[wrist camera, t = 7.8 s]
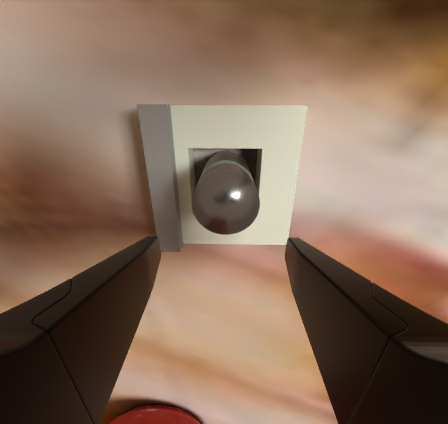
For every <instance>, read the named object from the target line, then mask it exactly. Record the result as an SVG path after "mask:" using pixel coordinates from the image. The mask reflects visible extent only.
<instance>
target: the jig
mask: <svg viewBox="0 0 448 424" xmlns="http://www.w3.org/2000/svg"><path fill="white" fill-rule="evenodd" d="M307 108H308V105H137V109H138V116H139V122H140V129H141V136H142V143H143V149H144V156H145V163H146V169H147V176H148V183H149V189H150V196H151V203H152V209H153V216H154V223H155V229H156V236H157V237H158V238H159V242H160V249H161V251H173V252H180V251H181V248H182V245H183V244H268V245H286V244H287V239H288V236H289V229H290V222H291V216H292V209H293V202H294V195H295V189H296V182H297V175H298V168H299V162H300V155H301V148H302V141H303V135H304V128H305V121H306V114H307ZM193 148H252V149H258V152H257V168H256V183H255V186H256V189H257V191H258V194H259V198H260V208H259V212H258V215H257V217H256V219H255V220H254V222H253V223H252V224H251V225H250V226H249V227H248V228H246V229H245V230H243V231H241V232H239V233H235V234H230V235H222V234H217V233H213V232H211V231H209V230H207V229H206V228H204V227H203V226H202V225H201V224H200V223H199V222H198V221H197V219H196V218H195V216H194V213H193V210H192V196H193V193H194V191H195V172H194V154H193Z"/></svg>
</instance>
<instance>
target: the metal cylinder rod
mask: <svg viewBox="0 0 448 424" xmlns="http://www.w3.org/2000/svg"><path fill="white" fill-rule="evenodd" d="M259 208H260V198H259V194H258V191H257V189H256V186H255V183H254V181H253V178H252V175H251V173H250V170H249V167H248V165H247V163H246V161H245V160H244V158H243V157H242V156H240V155H239V154H237V153H235V152H232V151H220V152H217V153H215V154H214V155H212V156H211V157H210V158H209V159H208V161H207V162H206V164H205V167H204V169H203V171H202V174H201V176H200V179H199V181H198V183H197V186H196V188H195V191H194V193H193V196H192V210H193V213H194V216H195V218H196V219H197V221H198V222H199V223H200V224H201V225H202V226H203V227H204V228H206V229H207V230H209V231H211V232H213V233H217V234H222V235H230V234H235V233H239V232H241V231H243V230H245V229H246V228H248V227H249V226H250V225H251V224H252V223H253V222H254V220H255V219H256V217H257V215H258V212H259Z"/></svg>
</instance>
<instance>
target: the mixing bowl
mask: <svg viewBox="0 0 448 424" xmlns="http://www.w3.org/2000/svg"><path fill="white" fill-rule="evenodd" d="M109 424H200V423H199V422H198V420H197V419H196V418H195V417H194V416H193V415H191V414H190V413H188V412H186V411H184V410H182V409H178V408H175V407H170V406H163V405H148V406H141V407H137V408H134V409H132V410H130V411H128V412H127V413H125V414H123V415H121V416H119V417H117V418H116V419H114V420H113V421H111V422H110V423H109Z"/></svg>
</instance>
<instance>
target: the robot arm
mask: <svg viewBox="0 0 448 424" xmlns="http://www.w3.org/2000/svg"><path fill="white" fill-rule="evenodd" d="M160 259H161V249H160V242H159V238H158V237H157V236H147V237H146V238H144V239H142V240H140V241H138V242H136V243H135V244H133V245H131V246H129V247H127V248H125V249H124V250H122V251H120V252H118V253H116V254H114V255H113V256H111V257H109V258H107V259H105V260H103V261H102V262H100V263H98V264H96V265H94V266H92V267H91V268H89V269H87V270H85V271H83V272H81V273H80V274H78V275H76V276H74V277H73V278H72V279H69V280H67V281H65V282H63V283H61V284H59V285H58V286H56V287H54V288H52V289H50V290H48V291H46V292H44V293H42V294H40V295H38V296H36V297H34V298H32V299H30V300H28V301H26V302H24V303H22V304H20V305H18V306H16V307H14V308H12V309H10V310H8V311H6V312H3V313H1V314H0V424H100V421H101V419H102V416H103V414H104V411H105V409H106V406H107V404H108V401H109V398H110V396H111V393H112V391H113V388H114V386H115V383H116V381H117V378H118V376H119V373H120V371H121V368H122V366H123V363H124V360H125V358H126V355H127V353H128V350H129V348H130V345H131V343H132V340H133V338H134V335H135V333H136V330H137V328H138V325H139V322H140V320H141V317H142V315H143V312H144V310H145V307H146V305H147V302H148V300H149V297H150V295H151V292H152V289H153V286H154V282H155V278H156V274H157V270H158V267H159V263H160ZM285 261H286V266H287V270H288V275H289V279H290V284H291V288H292V292H293V295H294V298H295V301H296V304H297V307H298V310H299V313H300V316H301V318H302V321H303V324H304V327H305V330H306V333H307V336H308V338H309V341H310V344H311V347H312V350H313V353H314V356H315V358H316V361H317V364H318V367H319V370H320V373H321V376H322V378H323V381H324V384H325V387H326V390H327V393H328V396H329V398H330V401H331V404H332V407H333V410H334V413H335V416H336V418H337V421H338V424H448V324H447V323H446V322H444V321H442V320H440V319H438V318H436V317H434V316H432V315H430V314H428V313H427V312H425V311H423V310H421V309H419V308H417V307H415V306H413V305H412V304H410V303H408V302H406V301H404V300H402V299H400V298H399V297H397V296H395V295H393V294H392V293H390V292H388V291H387V290H385V289H383V288H381V287H380V286H378V285H376V284H375V283H371V281H370V280H368V279H366V278H365V277H363V276H361V275H360V274H358V273H356V272H355V271H353V270H351V269H350V268H348V267H346V266H345V265H343V264H341V263H340V262H338V261H336V260H335V259H333V258H331V257H330V256H328V255H326V254H325V253H323V252H321V251H320V250H318V249H316V248H314V247H313V246H311V245H309V244H308V243H306V242H304V241H303V240H301V239H299V238H288V239H287V244H286V251H285Z"/></svg>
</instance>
